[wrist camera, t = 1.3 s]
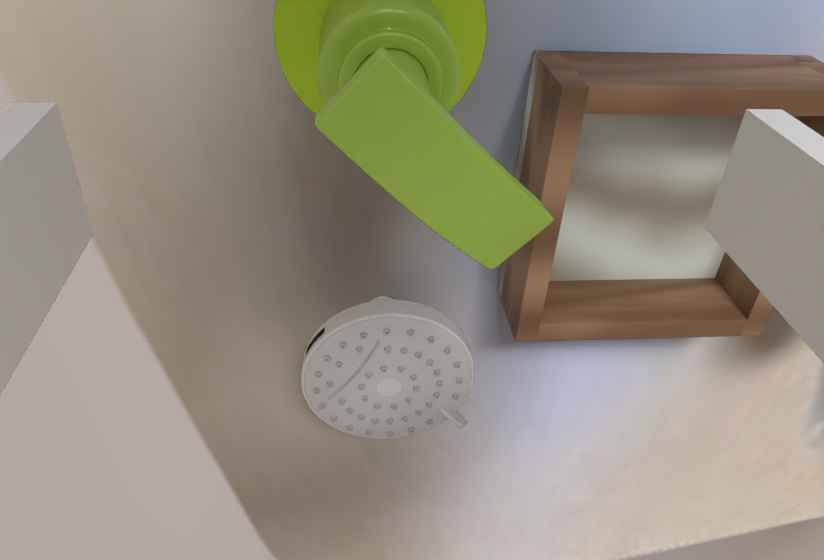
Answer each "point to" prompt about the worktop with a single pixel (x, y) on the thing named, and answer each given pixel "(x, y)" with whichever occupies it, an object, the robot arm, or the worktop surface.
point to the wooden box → (640, 191)
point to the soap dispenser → (408, 111)
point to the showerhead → (387, 369)
